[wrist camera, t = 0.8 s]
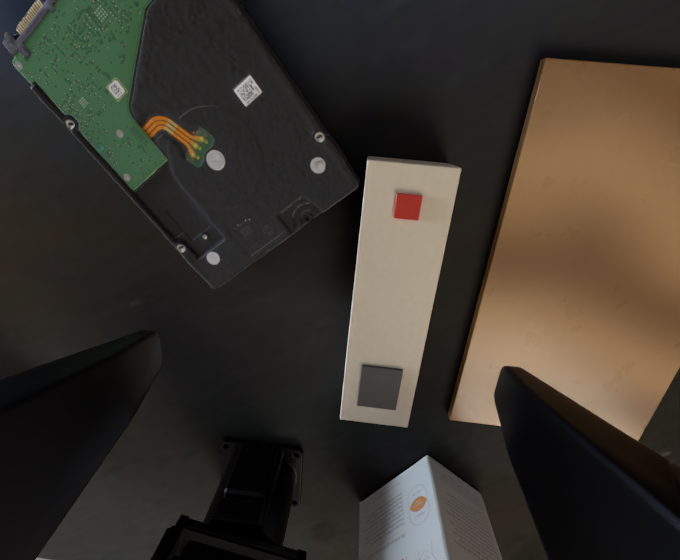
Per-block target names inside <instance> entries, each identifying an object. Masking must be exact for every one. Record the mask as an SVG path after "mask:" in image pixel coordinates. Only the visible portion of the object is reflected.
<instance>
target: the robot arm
mask: <svg viewBox="0 0 680 560" xmlns="http://www.w3.org/2000/svg"><path fill="white" fill-rule="evenodd" d="M162 362H163V356H162V349H161V342H160V337H159V334H158V333H156V332H152V331H139V332H136V333H133V334H130V335H127V336H124V337H121V338H119V339H116V340H113V341H110V342H107V343H104V344H101V345H98V346H95V347H93V348H90V349H87V350H84V351H81V352H78V353H75V354H72V355H70V356H67V357H64V358H61V359H58V360H55V361H52V362H49V363H47V364H44V365H41V366H38V367H35V368H32V369H29V370H26V371H24V372H21V373H18V374H15V375H12V376H9V377H6V378H3V379H1V380H0V560H35V559H36V558H37V556H38V555H39V553H40V552H41V550H42V549H43V548H44V546H45V545H46V543H47V542H48V540H49V539H50V537H51V536H52V535H53V533H54V532H55V530H56V529H57V527H58V526H59V524H60V523H61V522H62V520H63V519H64V517H65V516H66V514H67V513H68V511H69V510H70V509H71V507H72V506H73V504H74V503H75V501H76V500H77V498H78V497H79V495H80V494H81V493H82V491H83V490H84V488H85V487H86V485H87V484H88V482H89V481H90V480H91V478H92V477H93V475H94V474H95V472H96V471H97V469H98V468H99V467H100V465H101V464H102V462H103V461H104V459H105V458H106V456H107V455H108V454H109V452H110V451H111V449H112V448H113V446H114V445H115V443H116V442H117V440H118V439H119V438H120V436H121V435H122V433H123V432H124V430H125V429H126V427H127V426H128V425H129V423H130V421H131V420H132V418H133V417H134V415H135V413H136V412H137V410H138V408H139V407H140V405H141V403H142V401H143V399H144V398H145V396H146V394H147V392H148V390H149V388H150V387H151V385H152V383H153V381H154V379H155V378H156V376H157V374H158V372H159V370H160V368H161V366H162ZM494 401H495V405H496V409H497V413H498V416H499V420H500V424H501V428H502V432H503V436H504V440H505V443H506V447H507V451H508V454H509V458H510V460H511V463H512V466H513V469H514V471H515V474H516V477H517V479H518V482H519V485H520V487H521V490H522V492H523V495H524V498H525V500H526V503H527V506H528V508H529V511H530V514H531V516H532V519H533V521H534V524H535V527H536V529H537V532H538V535H539V537H540V540H541V542H542V545H543V548H544V550H545V553H546V556H547V558H548V560H680V467H678V466H676V465H675V464H673V463H669V461H668V460H667V459H665V458H664V457H662V456H660V455H659V454H657V453H656V452H654V451H653V450H651V449H649V448H648V447H646V446H645V445H643V444H641V443H640V442H638V441H637V440H635V439H633V438H632V437H630V436H629V435H627V434H626V433H624V432H622V431H621V430H619V429H618V428H616V427H614V426H613V425H611V424H610V423H608V422H607V421H605V420H603V419H602V418H600V417H599V416H597V415H595V414H594V413H592V412H591V411H589V410H587V409H586V408H584V407H583V406H581V405H580V404H578V403H576V402H575V401H573V400H572V399H570V398H568V397H567V396H565V395H564V394H562V393H561V392H559V391H557V390H556V389H554V388H553V387H551V386H549V385H548V384H546V383H545V382H543V381H542V380H540V379H538V378H537V377H535V376H534V375H532V374H530V373H529V372H527V371H526V370H524V369H523V368H521V367H515V366H504V367H502V369H501V371H500V374H499V377H498V381H497V384H496V388H495V392H494ZM220 449H221V463H222V479H221V482H220V484H219V486H218V489H217V491H216V493H215V496H214V498H213V500H212V503H211V505H210V507H209V510H208V512H207V514H206V517H205V519H204V521H203V522H199V521H196V520H193V519H189V516H185V515H181V516H180V518H179V520H178V521H177V523H176V525H175V526H172V527H171V528H167V530H166V532H165V534H164V535H163V537H162V539H161V541H160V543H159V545H158V547H157V549H156V551H155V553H154V554H153V556H152V558H151V559H150V560H306V551H303V550H298V551H297V550H294V549H290V548H287V547H284V546H283V542H284V537H285V532H286V527H287V523H288V518H289V513H290V508H291V506H292V507H297V506H299V505H300V500H301V485H302V467H303V449H302V448H301V447H298V446H291V445H282V444H274V443H266V442H258V441H250V440H242V439H234V438H224V439H223V440H222V442H221V445H220Z"/></svg>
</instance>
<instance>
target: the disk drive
mask: <svg viewBox="0 0 680 560" xmlns="http://www.w3.org/2000/svg"><path fill="white" fill-rule="evenodd" d="M16 30H17V32H19V33H17V34H14V35H11V34H10V33H8V32H6V33H5V35H4V36H5V38H4V40H3V42H2V44H3V45H4V46H5V47H6V48H7V49H8V50H9V53H10V55H11V56H12V57H13V58H14V59H13V61H12V63H13V65H14V66H15V68H16V69H17V70H18V71H19V72H20V73H21V74H22V75H23V76H24V77H25V78H26V79H27V80H28V82H29V83H31V89H32V91H33V92H34V93H35V94H36V95H37V96H38V98H39V99H40V100H41V101H42V102H43V103H44V104H45V105H46V106H47V108H48V109H49V110H50V111H52V112H53V113H54V114H55V115H56V116H57V117H58V118H59V119H60V121H61V122H62V123H64V125H65V126H66V127H67V128H68V129H69V130H70V131H71V132H72V134H73V135H74V136H75V137H76V139H77V140H78V141H79V142H80V143H81V144H82V145H83V146H84V147H85V148H86V150H87V151H88V152H89V153H90V154H91V155H92V156H93V158H94V159H95V160H96V161H97V162H98V163H99V164H100V166H101V167H103V168H104V170H105V171H106V172H107V173H108V174H109V175H110V176H111V177H112V179H113V180H114V181H115V182H116V183H117V184H118V185H119V187H120V188H122V189H123V191H124V192H125V193H126V194H127V195H128V196H129V197H130V198H131V199H132V200H133V201H134V203H135V204H136V205H137V206H138V207H139V208H140V210H142V211H143V213H144V214H145V215H146V216H147V217H148V218H149V220H151V221H152V223H153V224H154V225H155V226H156V227H157V228H158V229H159V230H160V231H161V232H162V234H163V235H164V236H165V237H166V238H167V239H168V240H169V242H170V243H171V244H172V245H173V246H174V247H175V248H176V249H177V250H178V251H179V253H180V254H181V255H182V256H183V258H184V259H185V260H186V261H187V263H188V264H190V266H191V267H192V268H193V269H194V270H195V271H196V272H197V273H198V274H199V275H200V276H201V277H202V278H203V279H204V280H205V281H206V282H207V283H208V284H209V285H210V286H211V287H212V289H218V288H219V287H221V286H223V285H225V284H226V283H227V282H228V281H230V280H231V279H232V278H234V277H235V276H236V275H238V274H239V273H241V272H242V271H243V270H244V269H246V268H247V267H248V266H250V265H251V264H252V263H254V262H256V261H257V260H258V259H260V258H261V257H263V256H264V255H266V254H267V253H268V252H269V251H271V250H272V249H274V248H275V247H276V246H278V245H279V244H281V243H282V242H284V241H285V240H286V239H288V238H289V237H291V236H292V235H293V234H294V233H296V232H297V231H298V230H299V229H301V228H302V227H303V226H304V225H306V224H307V223H308V222H309V221H310V220H311V219H313V218H315V217H317V216H318V215H320V214H321V213H323V212H325V211H327V210H328V209H329V208H331V207H332V206H333V205H334V204H336V203H337V202H339V201H340V200H342V199H343V198H344V197H346V196H347V195H349V194H350V193H351V192H353V191H354V190H356V189H357V187H358V185H359V181H360V179H359V176H358V175H357V174H356V173H355V171H354V170H353V168H352V167H351V165H350V163H349V162H348V161H347V157H346V156H345V154H344V153H343V151H342V150H341V149H340V147H339V145H338V144H337V142H336V141H335V140H334V138H333V137H332V136H331V135H330V134H329V133H328V131H327V130H326V128H325V127H324V126H323V124H322V123H321V121H320V119H319V118H318V117H317V115H316V113H315V112H314V111H313V109H312V108H311V106H310V104H309V103H308V102H307V100H306V99H305V97H304V96H303V95H302V93H301V91H300V90H299V88H298V87H297V86H296V84H295V83H294V81H293V80H292V78H291V77H290V76H289V74H288V73H287V71H286V70H285V68H284V67H283V65H282V64H281V62H280V61H279V59H278V58H277V57H276V55H275V53H274V52H273V51H272V49H271V48H270V45H269V44H268V43H267V42H266V40H265V38H264V36H263V35H262V34H261V33H260V32H259V30H258V28H257V27H256V25H255V24H254V22H253V21H252V19H251V18H250V16H249V15H248V13H247V12H246V10H245V9H244V7H243V6H242V4H241V3H240V2H239V0H36V1H35V2H34V4H33V5H32V7H31V8H30V9H29V10H28V12H27V13H26V15H25V16H24V17H23V19H22V20H21V21H20V23H19V24H18V25H17V27H16Z"/></svg>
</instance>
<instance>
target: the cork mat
mask: <svg viewBox="0 0 680 560" xmlns="http://www.w3.org/2000/svg"><path fill="white" fill-rule="evenodd" d="M504 366H515V367H521V368H523V369H524V370H526V371H527V372H529V373H530V374H532V375H534V376H535V377H537V378H538V379H540V380H542V381H543V382H545V383H546V384H548V385H549V386H551V387H553V388H554V389H556V390H557V391H559V392H561V393H562V394H564V395H565V396H567V397H568V398H570V399H572V400H573V401H575V402H576V403H578V404H580V405H581V406H583V407H584V408H586V409H587V410H589V411H591V412H592V413H594V414H595V415H597V416H599V417H600V418H602V419H603V420H605V421H607V422H608V423H610V424H611V425H613V426H614V427H616V428H618V429H619V430H621V431H622V432H624V433H626V434H627V435H629V436H630V437H632V438H633V439H635V440H637V441H639V439H640V437H641V435H642V433H643V432H644V430H645V428H646V426H647V424H648V423H649V421H650V419H651V417H652V416H653V414H654V412H655V410H656V408H657V407H658V405H659V403H660V401H661V400H662V398H663V396H664V394H665V392H666V391H667V389H668V387H669V385H670V383H671V382H672V380H673V378H674V376H675V375H676V373H677V371H678V369H679V367H680V68H672V67H659V66H647V65H634V64H621V63H609V62H596V61H583V60H571V59H558V58H545V59H542V60H541V61H540V65H539V69H538V72H537V76H536V80H535V84H534V88H533V91H532V95H531V99H530V103H529V107H528V111H527V114H526V118H525V122H524V126H523V130H522V133H521V137H520V141H519V145H518V149H517V152H516V156H515V160H514V164H513V168H512V171H511V175H510V179H509V183H508V187H507V190H506V194H505V198H504V202H503V206H502V210H501V213H500V217H499V221H498V225H497V229H496V232H495V236H494V240H493V244H492V248H491V251H490V255H489V259H488V263H487V267H486V270H485V274H484V278H483V282H482V286H481V289H480V293H479V297H478V301H477V305H476V309H475V312H474V316H473V320H472V324H471V328H470V331H469V335H468V339H467V343H466V347H465V350H464V354H463V358H462V362H461V366H460V369H459V373H458V377H457V381H456V385H455V389H454V392H453V396H452V400H451V404H450V408H449V411H448V417H449V420H454V421H463V422H471V423H480V424H488V425H497V426H501V424H500V420H499V416H498V413H497V409H496V405H495V401H494V392H495V388H496V384H497V381H498V377H499V374H500V371H501V369H502V367H504Z"/></svg>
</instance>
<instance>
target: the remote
mask: <svg viewBox="0 0 680 560" xmlns="http://www.w3.org/2000/svg"><path fill="white" fill-rule="evenodd" d="M460 173H461V168H460V167H457V166H454V165H452V164H449V163H440V162H429V161H419V160H408V159H397V158H386V157H375V156H368V157H367V165H366V174H365V184H364V193H363V202H362V212H361V221H360V231H359V240H358V249H357V259H356V268H355V278H354V287H353V297H352V306H351V315H350V325H349V334H348V344H347V353H346V362H345V372H344V381H343V391H342V401H341V410H340V419H341V420H349V421H357V422H366V423H374V424H382V425H391V426H399V427H408V423H409V418H410V413H411V409H412V404H413V399H414V394H415V389H416V385H417V380H418V375H419V370H420V365H421V361H422V356H423V351H424V346H425V341H426V337H427V332H428V327H429V322H430V317H431V313H432V308H433V303H434V298H435V293H436V289H437V284H438V279H439V274H440V269H441V265H442V260H443V255H444V250H445V245H446V241H447V236H448V231H449V226H450V221H451V217H452V212H453V207H454V202H455V197H456V193H457V188H458V183H459V178H460Z"/></svg>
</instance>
